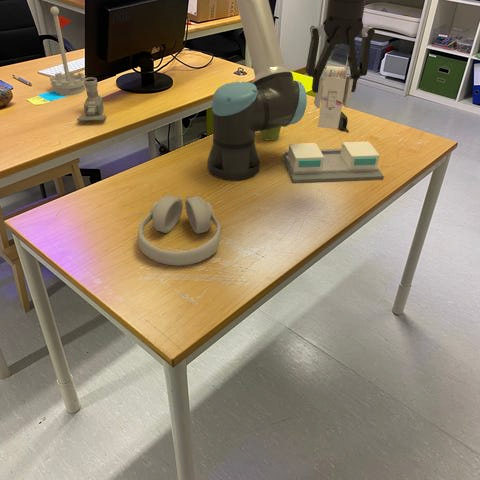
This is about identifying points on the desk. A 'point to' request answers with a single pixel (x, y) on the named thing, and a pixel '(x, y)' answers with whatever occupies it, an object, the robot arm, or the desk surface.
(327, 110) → the ink cartridge box
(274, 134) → the plant pot
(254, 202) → the desk surface
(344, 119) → the mobile phone
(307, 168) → the rail panel
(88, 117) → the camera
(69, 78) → the flag stand
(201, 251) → the headphones
